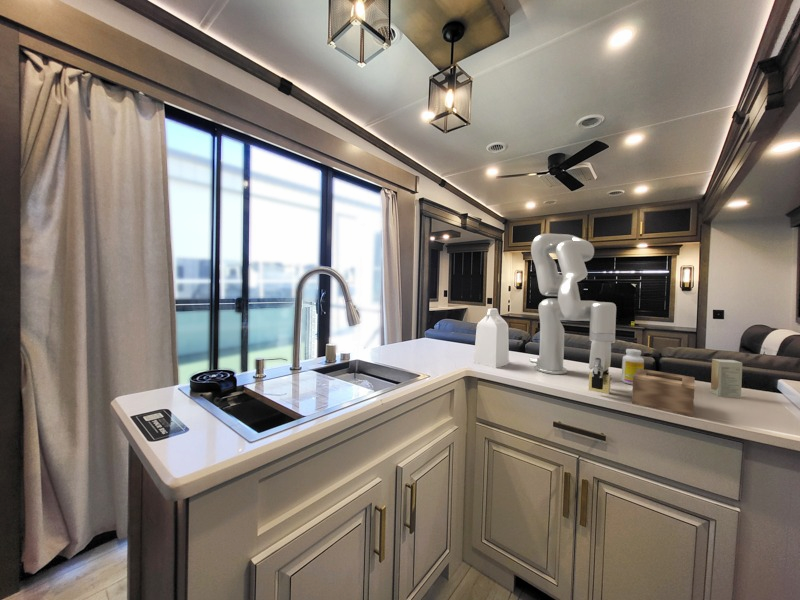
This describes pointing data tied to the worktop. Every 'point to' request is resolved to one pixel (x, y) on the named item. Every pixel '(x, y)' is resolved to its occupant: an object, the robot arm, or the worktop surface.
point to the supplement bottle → (631, 365)
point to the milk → (492, 341)
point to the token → (605, 383)
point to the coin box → (664, 391)
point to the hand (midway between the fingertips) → (600, 385)
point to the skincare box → (726, 378)
